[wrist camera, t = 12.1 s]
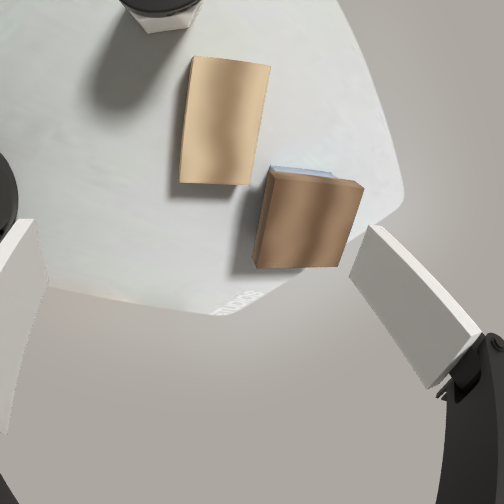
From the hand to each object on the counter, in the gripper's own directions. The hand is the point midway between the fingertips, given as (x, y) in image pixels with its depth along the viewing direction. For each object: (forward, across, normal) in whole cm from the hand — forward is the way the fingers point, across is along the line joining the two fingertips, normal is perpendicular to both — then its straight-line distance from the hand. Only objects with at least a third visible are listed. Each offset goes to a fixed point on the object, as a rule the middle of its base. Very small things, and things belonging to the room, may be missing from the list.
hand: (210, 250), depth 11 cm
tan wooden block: (+27, +4, +1) cm, 27 cm away
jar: (+27, -4, +15) cm, 31 cm away
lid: (+23, +16, -10) cm, 30 cm away
